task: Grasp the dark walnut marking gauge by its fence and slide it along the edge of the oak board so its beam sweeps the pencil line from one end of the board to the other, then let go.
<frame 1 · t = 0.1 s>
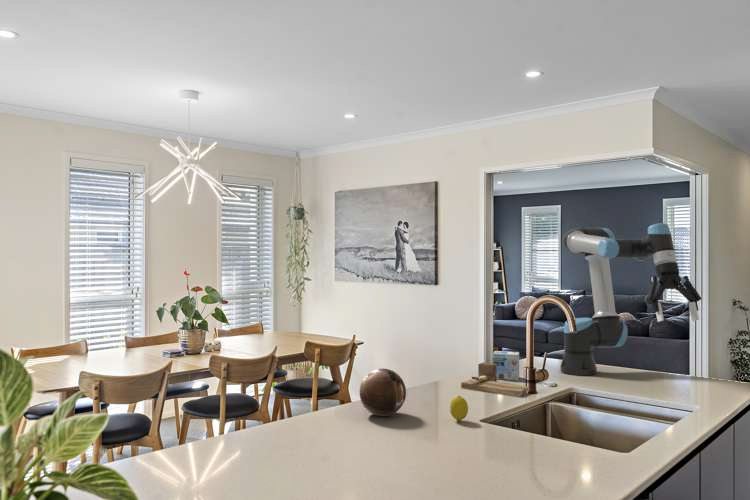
hand: (678, 320, 211), 28 cm above the worktop, tool tilted 20°, fingers open, 13 cm apart
light bulb box: (506, 378, 246), on the worktop
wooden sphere: (382, 416, 190), on the worktop
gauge: (487, 384, 235), on the worktop
lemon: (459, 422, 183), on the worktop
board: (495, 389, 225), on the worktop
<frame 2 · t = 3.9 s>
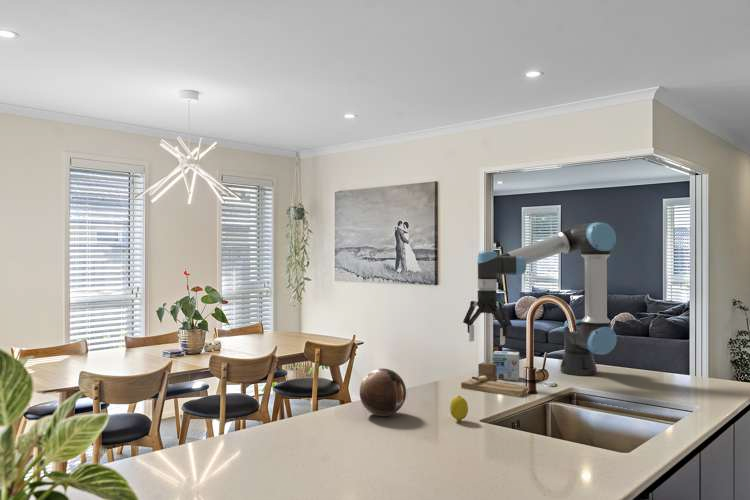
hand: (486, 342, 235), 16 cm above the worktop, tool pointing down, fingers open, 13 cm apart
nothing on the worktop moved.
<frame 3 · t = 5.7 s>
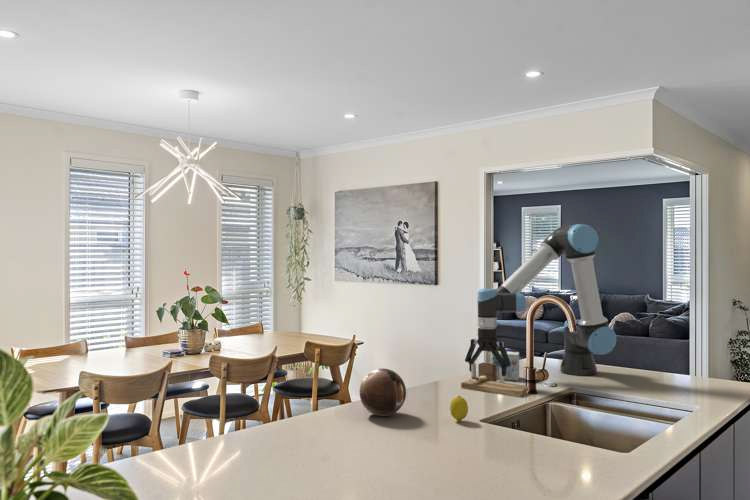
hand: (487, 382, 235), 1 cm above the worktop, tool pointing down, fingers open, 12 cm apart
nothing on the worktop moved.
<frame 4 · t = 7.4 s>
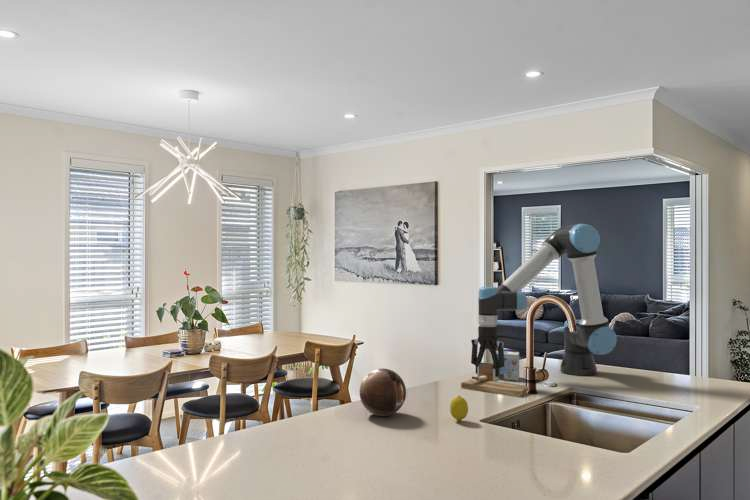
hand: (487, 383, 235), 0 cm above the worktop, tool pointing down, fingers closed on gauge, 6 cm apart
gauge: (487, 384, 235), on the worktop, touching gripper
everything else where it was.
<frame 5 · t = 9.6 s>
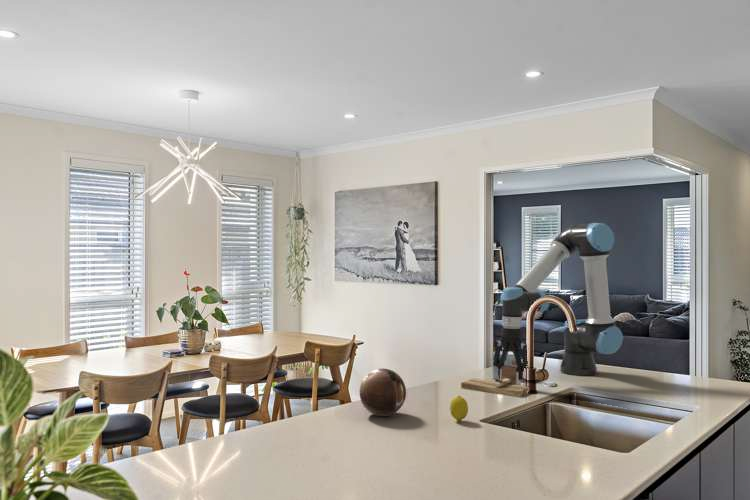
hand: (510, 386, 229), 0 cm above the worktop, tool pointing down, fingers closed on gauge, 6 cm apart
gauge: (510, 387, 229), on the worktop, touching gripper
everything else where it was.
when the fingers open (0 cm above the worktop, at t = 11.8 s): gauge stays where it is, on the worktop.
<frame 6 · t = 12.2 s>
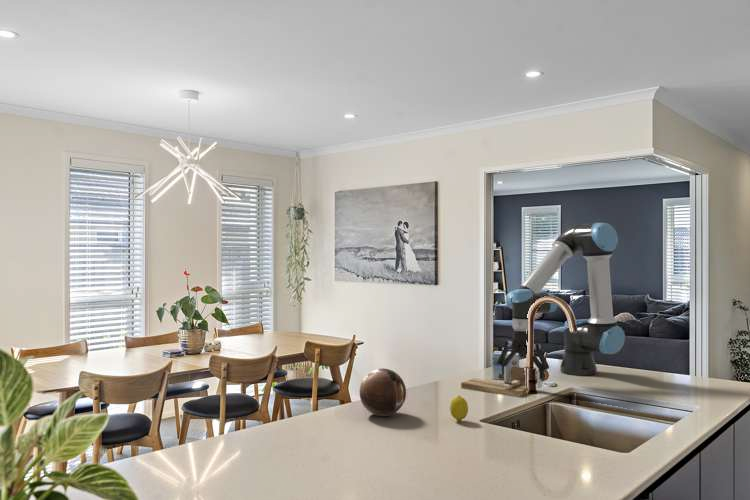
hand: (522, 385, 226), 2 cm above the worktop, tool pointing down, fingers open, 13 cm apart
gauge: (520, 389, 226), on the worktop
everything else where it was.
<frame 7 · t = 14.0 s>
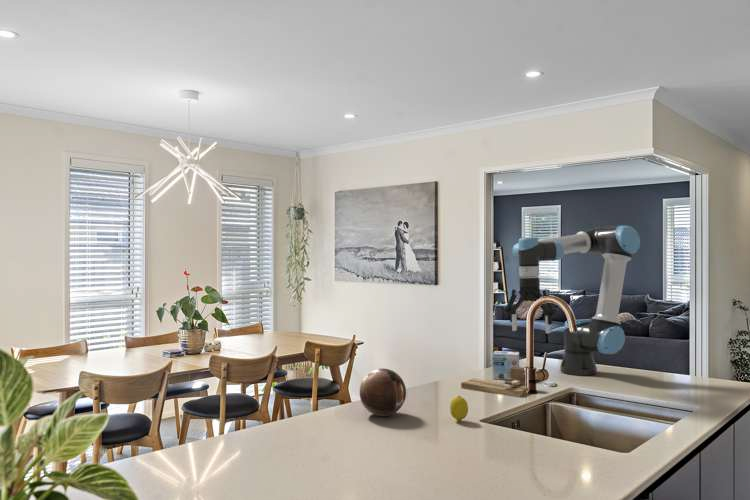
hand: (531, 331, 229), 22 cm above the worktop, tool pointing down, fingers open, 13 cm apart
nothing on the worktop moved.
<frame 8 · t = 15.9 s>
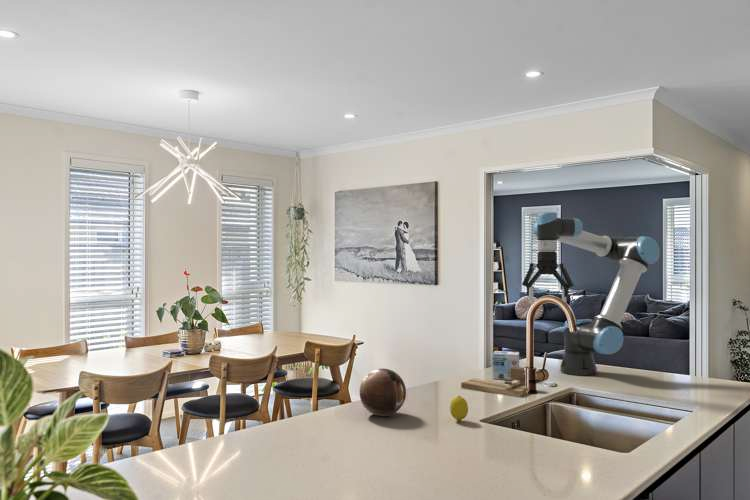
hand: (547, 304, 235), 32 cm above the worktop, tool pointing down, fingers open, 13 cm apart
nothing on the worktop moved.
at the end: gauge 1.1 cm from the target spot, on the worktop; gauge tilted 0°; the gripper is holding nothing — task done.
